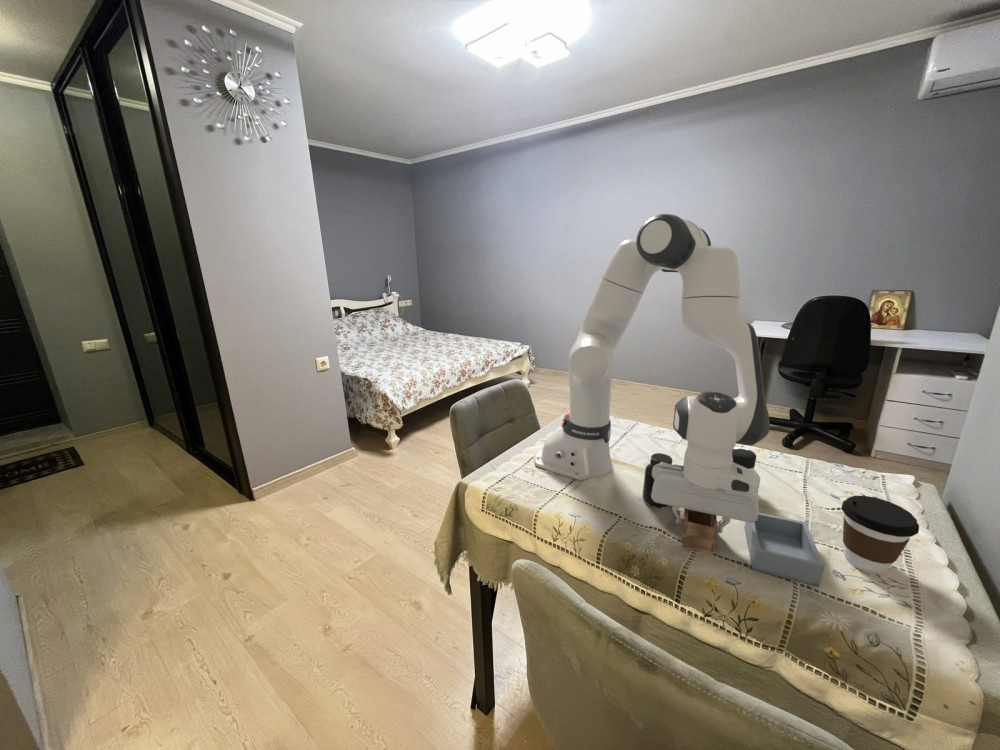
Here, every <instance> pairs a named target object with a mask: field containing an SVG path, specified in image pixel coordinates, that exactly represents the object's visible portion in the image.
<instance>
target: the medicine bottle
mask: <svg viewBox="0 0 1000 750" xmlns="http://www.w3.org/2000/svg"><path fill="white" fill-rule="evenodd" d="M732 457H733V462H734V463H736V464H738V465H740V466H743V467H745V468H747V469H750V470H751V471H752V473H753V474H754V477H755V480H756V493H757V495H758V493H759V492H758V491H759V488H760V483H761V476H760V475H759V473H758V472H757V471H756V469H755V465H756V461H757V455H756V453H755V452H754V451H752V450H751V449H748V448H746V447H740V446H736V447H734V448H733V451H732Z"/></svg>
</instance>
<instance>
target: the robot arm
mask: <svg viewBox="0 0 1000 750" xmlns="http://www.w3.org/2000/svg"><path fill="white" fill-rule="evenodd" d="M659 271H661V272H663V273H679V274H680V277H681V280H682V295H681V308H680V309H681V321H682V324H683V326H684V328H685V329H686V331H687V332H689V333H690V334H691V335H692V336H694V337H696V338H697V339H699V340H701V341H704V342H706V343H709V344H711V345H714V346H717V347H719V348H720V349H723V350H725V351H726V352H728V353H729V354H730V355H731V357H732V358H733V360H734V363H735V370H736V379H737V386H738V387H737V389H738V395H737V396H736V397H731V396H730V395H728V394H726V393H724V392H723V393H722V392H719V391H704V392H700V393H698V394H697V395H689V396H684V397H682V398H681V399H680V400H678V402H676V403H675V405H674V414H673V421H672V427H673V430H674V431H675V432H676V433H677V434H678V435H679V437H681V438H682V439H683V441H686V442H687V447H686V449H685V451H684V457H683V465H681V464H673V463H672V464H667V463H664V462H661V464H656V465H654V466H653V469H652V477H653V478H654V483H653V488H652V494H651V498H652V499H653V501H654V502H656V503H661V504H666V505H669V506H671V507H672V509H671V510H672V512H673V514H674V515H675V517H676V521H675V523H676V524H678V525H679V524H680V525H683V524H684V513H681V511H680V508H681V509H683V510H684V509H689V510H693V511H698V512H703V513H707V514H712V515H716V517H721V519H720V520H717V529H718V531H717V534H722V533H723V531H724V530H723V528H725V527H726V526H727V525H729V524H730V523H731V520H737V521H740V522H749V523H753V522H755V521H756V520H757V519H758V514H759V513H760V512H759V510H760V503H759V498H758V494H757V493H756V480H755V477H754V474H753V473H752V471H751V470H750V469H747V468H745V467H743V466H740V465H738V464H736V463H734V462H733V457H732V451H733V448H734V447H735V446H736V444H739V445H745V446H750V447H751V446H754V445H756V444H758V443H759V442H760V441H761V442H762V440H763V439H765V437H767V436H768V434H769V433H770V427H771V424H770V422H771V421H770V416H769V410H768V406H767V402H766V397H765V389H764V382H763V371H762V364H761V354H760V347H759V342H758V336H757V333H756V330H755V328H754V326H753V325H752V324H750V323H748V322H746V320H745V318H744V317H743V315H742V311H741V307H740V298H741V297H740V296H741V295H740V294H741V278H740V274H741V273H740V266H739V260H738V255H737V253H736V252H735V251H734V250H733V249H731V248H730V247H727V246H724V245H718V244H717V245H712V242H711V239H710V237H709V234H708V233H707V232H706V231H705V230H704V229H703V228H700V227H699V226H698V225H697V224H695V223H694V222H693V221H691V220H689V219H684V218H681V216H678V215H675V214H671V213H664V214H663V213H661V214H658V215H657V214H656V215H653V216H652V217H649V219H647V220H646V221H645V222H644V223H643V224H642V226H641V227H640V228H639V230H638V233H637V236H636V238H630V239H629V238H628V239H625V240H623V241H622V242H620V243H619V245H618V246H617V248H616V250H615V251H614V253H613V254H612V256H611V258H610V259H609V261H608V263H607V265H606V267H605V269H604V271H603V273H602V275H601V278H600V280H599V283H598V285H597V288H596V290H595V292H594V295H593V297H592V300H591V302H590V305H589V306H588V309H587V312H586V315H585V316H584V320H583V322H582V324H581V327H580V330H579V332H578V334H577V337H576V339H575V341H574V342H573V344H572V347H571V348H570V350H569V353H568V379H569V380H568V382H569V411H568V412H566V413H565V414H564V416H563V417H564V418H563V419H562V421H561V427H560V428H559V429H557V430H556V431H554V432H552V433H551V434H550V435H548V437H547V438H546V439H545V440H544V443H543V446H541V448H540V449H539V450H538V451H537V452H536V454H535V456H534V465H535V466H536V467H538V468H541V469H545V470H548V471H550V472H554V473H557V474H559V475H562V476H566V477H569V478H572V479H575V480H578V481H584V480H587V479H589V478H595V477H600V476H604V475H607V474H608V473H610V472H611V471H612V469H613V463H612V458H611V451H610V439H611V433H612V432H611V431H612V426H611V425H612V424H611V423H612V422H611V419H610V418H611V417H610V415H611V414H610V413H611V399H612V379H613V377H612V375H613V361H614V356H615V352H616V349H617V348H618V345H619V343H620V341H621V339H622V338H623V335H624V333H625V331H626V329H627V328H628V326H629V324H631V321H632V319H633V316H634V314H635V312H636V310H637V308H638V306H639V303H640V301H641V299H642V296H643V295H644V292H645V290H646V288H647V286H648V283H649V282H650V280H651V278H652V276H653V275H654V274H655V273H657V272H659Z"/></svg>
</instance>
